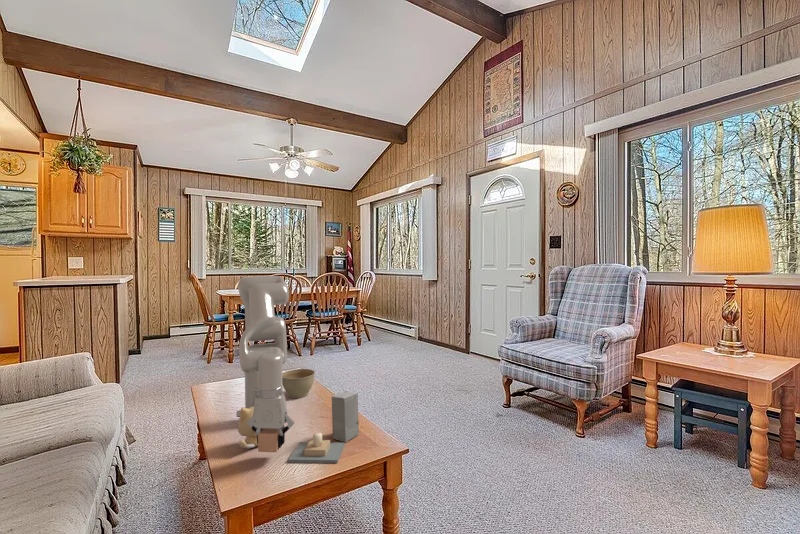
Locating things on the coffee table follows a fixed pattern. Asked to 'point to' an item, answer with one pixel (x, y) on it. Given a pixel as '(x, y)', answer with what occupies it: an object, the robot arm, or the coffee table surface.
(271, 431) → the peach cardboard cube
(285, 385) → the planter bowl
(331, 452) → the post board
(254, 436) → the kitten
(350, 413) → the skincare box
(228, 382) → the coffee table surface
